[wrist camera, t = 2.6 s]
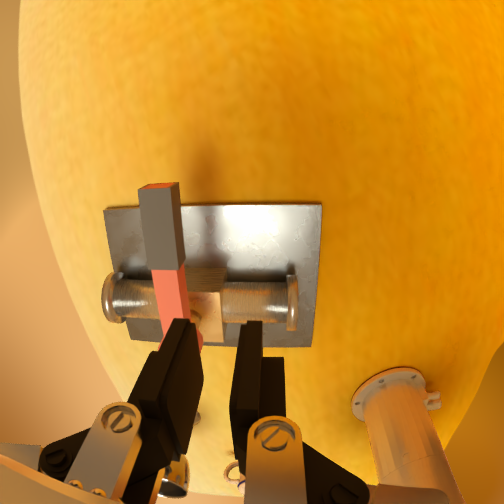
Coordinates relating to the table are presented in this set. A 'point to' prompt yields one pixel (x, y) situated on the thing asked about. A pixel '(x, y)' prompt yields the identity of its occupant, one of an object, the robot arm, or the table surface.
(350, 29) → the table surface
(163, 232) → the lever
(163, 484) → the wine glass
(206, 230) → the valve
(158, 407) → the robot arm
